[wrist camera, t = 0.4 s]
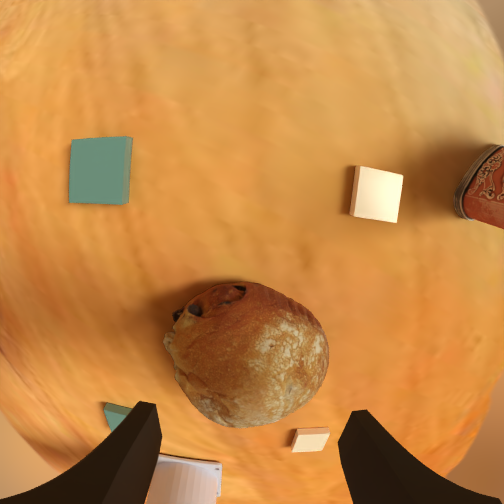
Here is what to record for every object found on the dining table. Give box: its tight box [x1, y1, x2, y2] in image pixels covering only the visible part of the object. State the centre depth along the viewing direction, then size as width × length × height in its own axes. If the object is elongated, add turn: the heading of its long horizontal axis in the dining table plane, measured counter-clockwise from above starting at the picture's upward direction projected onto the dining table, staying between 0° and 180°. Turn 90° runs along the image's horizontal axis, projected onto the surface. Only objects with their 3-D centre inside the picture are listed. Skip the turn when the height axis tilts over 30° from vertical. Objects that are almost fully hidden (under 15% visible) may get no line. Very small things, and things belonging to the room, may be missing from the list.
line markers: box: [69, 136, 403, 452], centre depth 19 cm, size 26×20×1 cm
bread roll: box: [163, 282, 329, 428], centre depth 17 cm, size 10×10×8 cm
